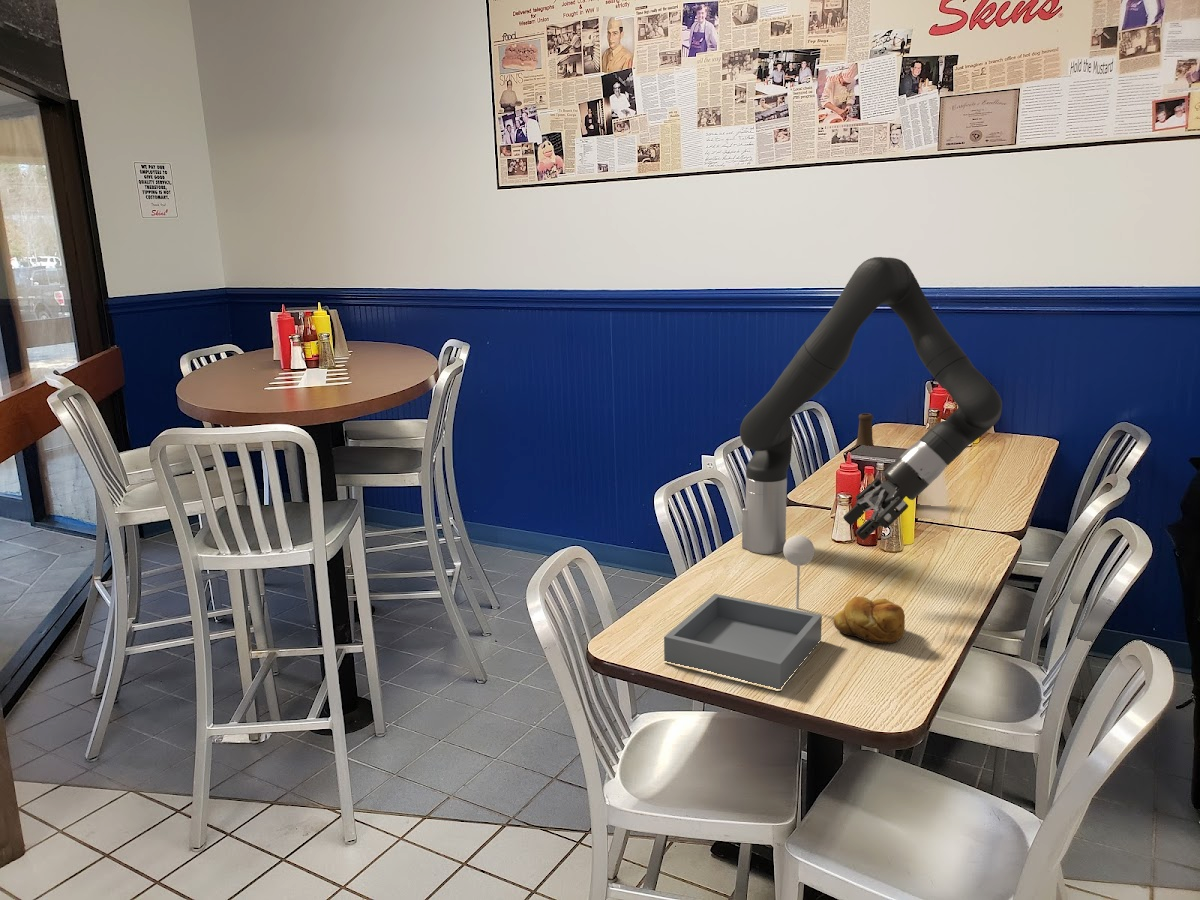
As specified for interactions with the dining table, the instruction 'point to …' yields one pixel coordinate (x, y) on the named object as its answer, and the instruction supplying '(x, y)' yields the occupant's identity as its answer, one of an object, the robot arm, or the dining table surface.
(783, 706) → the dining table surface
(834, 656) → the dining table surface
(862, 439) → the beer bottle
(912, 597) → the dining table surface
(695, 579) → the dining table surface
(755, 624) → the tray
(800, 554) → the lollipop
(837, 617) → the bread roll
